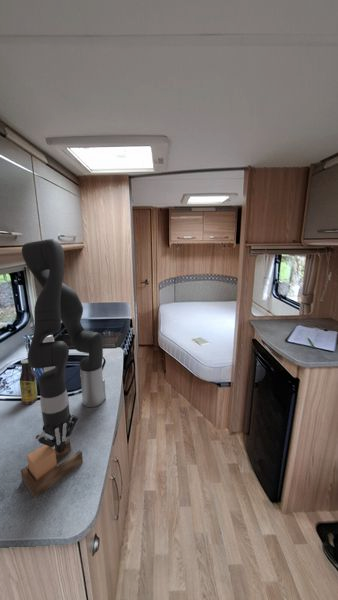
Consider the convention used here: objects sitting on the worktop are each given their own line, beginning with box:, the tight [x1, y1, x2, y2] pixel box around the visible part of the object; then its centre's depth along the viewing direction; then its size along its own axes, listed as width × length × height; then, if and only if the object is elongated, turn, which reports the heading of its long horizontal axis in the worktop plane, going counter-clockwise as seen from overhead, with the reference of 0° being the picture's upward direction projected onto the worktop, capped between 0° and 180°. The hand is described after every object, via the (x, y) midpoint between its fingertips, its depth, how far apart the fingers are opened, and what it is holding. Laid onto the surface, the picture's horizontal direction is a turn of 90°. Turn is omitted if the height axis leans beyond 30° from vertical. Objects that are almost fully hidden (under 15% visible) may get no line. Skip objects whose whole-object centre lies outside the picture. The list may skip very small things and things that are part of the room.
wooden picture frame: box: [20, 438, 84, 499], centre depth 77 cm, size 15×8×4 cm, turn 142°
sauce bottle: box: [19, 358, 38, 405], centre depth 109 cm, size 6×6×20 cm
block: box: [26, 444, 58, 481], centre depth 74 cm, size 6×5×9 cm
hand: (60, 450), depth 79 cm, fingers closed
